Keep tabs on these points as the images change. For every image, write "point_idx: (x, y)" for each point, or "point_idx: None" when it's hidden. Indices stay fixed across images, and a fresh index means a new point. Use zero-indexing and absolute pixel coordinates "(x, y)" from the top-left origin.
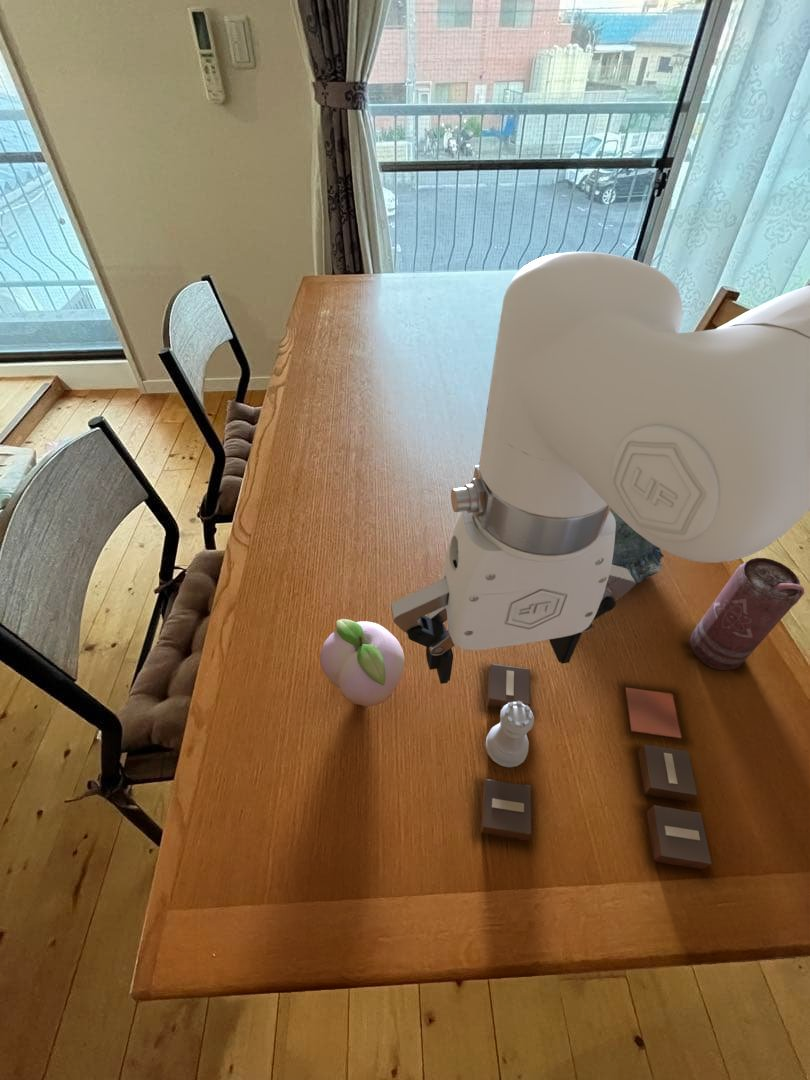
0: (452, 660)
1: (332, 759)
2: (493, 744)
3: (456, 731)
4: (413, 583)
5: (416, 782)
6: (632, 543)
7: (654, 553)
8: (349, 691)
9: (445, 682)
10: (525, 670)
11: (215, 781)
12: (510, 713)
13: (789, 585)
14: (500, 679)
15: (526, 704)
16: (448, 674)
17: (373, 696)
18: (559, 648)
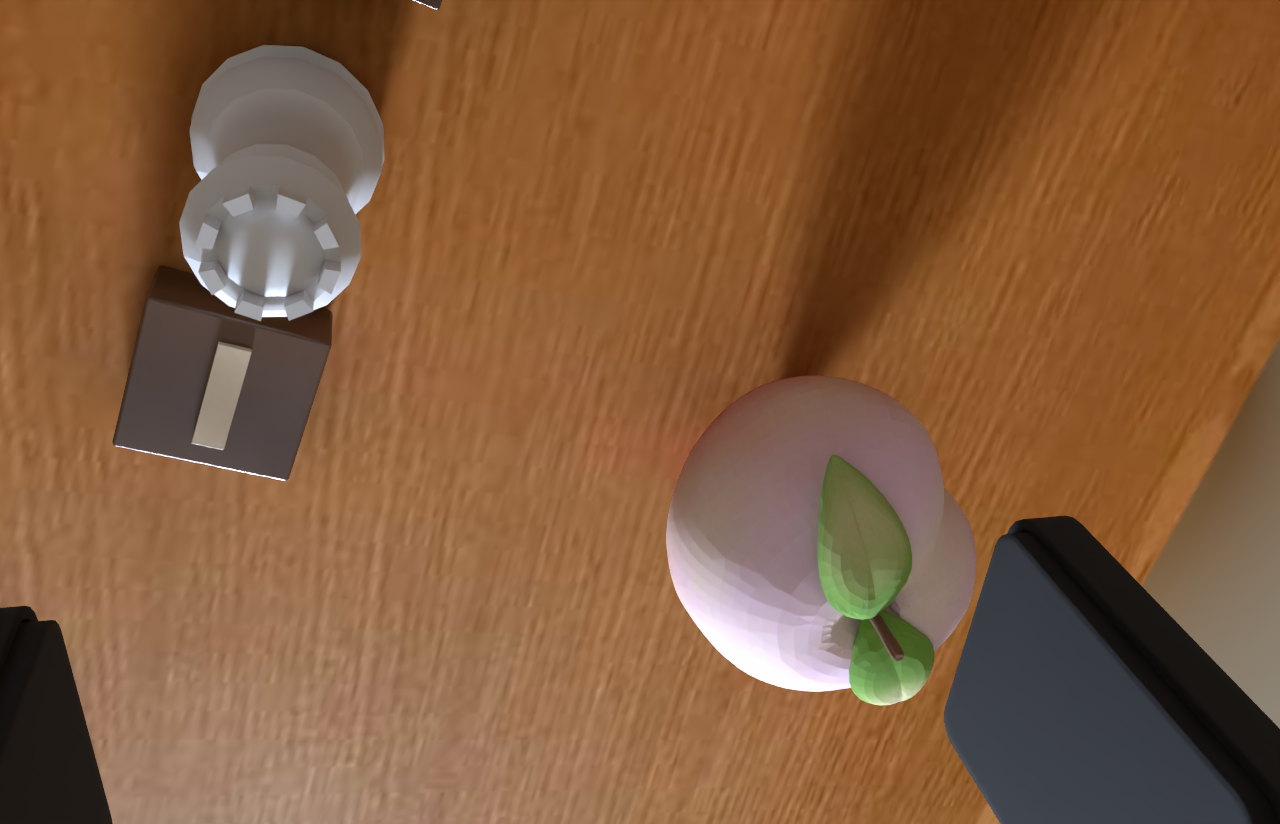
0: (1204, 756)
1: (938, 210)
2: (364, 151)
3: (483, 235)
4: (496, 767)
5: (689, 70)
6: None
7: None
8: (927, 440)
9: (1050, 526)
10: (133, 441)
11: (1268, 205)
12: (310, 263)
13: None
14: (260, 415)
15: (163, 298)
16: (1104, 600)
17: (846, 412)
18: (36, 769)
